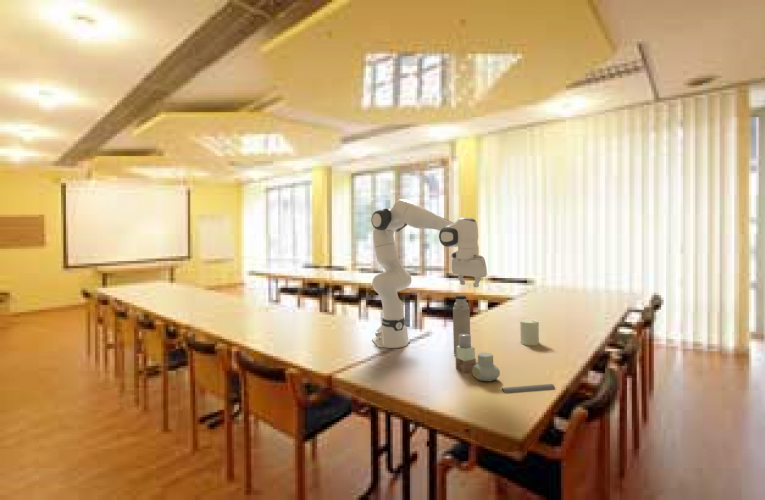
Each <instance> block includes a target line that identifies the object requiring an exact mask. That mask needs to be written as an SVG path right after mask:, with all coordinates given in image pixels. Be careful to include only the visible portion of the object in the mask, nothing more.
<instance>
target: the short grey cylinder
mask: <svg viewBox="0 0 765 500" xmlns="http://www.w3.org/2000/svg"><path fill="white" fill-rule="evenodd" d="M471 346H472V335H471V333H470V334H459V347H460V348H471Z"/></svg>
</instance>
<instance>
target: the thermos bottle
mask: <svg viewBox="0 0 765 500" xmlns="http://www.w3.org/2000/svg"><path fill="white" fill-rule="evenodd" d="M470 314H471V311H470V307H469V303H468V302H467V296H466V295H457V296H455V302H454V304H453V307H452V324H453V325H452V329H453V333H452V334H453V336H452V337H453V354H454V355H455V356H457V353H456V346H459V334H470V335H471V315H470Z"/></svg>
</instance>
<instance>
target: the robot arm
mask: <svg viewBox="0 0 765 500" xmlns="http://www.w3.org/2000/svg"><path fill="white" fill-rule="evenodd" d="M371 224H372V226H373V228H374V229H373V233H372V235H373V236H372V237H373V239H372V240H373V245H374V250H375V256H376V261H377V263H378V264H379V265H381V267H383V269H384V270H385V272H381V273H378V274H377V275H375V276H374V277H373V278H372V283H371V284H372V289H373V290H374V291H375V293H377V294H378V296H379V298H380V301H381V304H382V306H381V307H382V317H381V325H380V326H379V327H378V328H377V329H376V332H375V337H372V342H373V343H374V344H375V345H376V346H377V347H378V348H388V349H391V348H392V349H397V348H403V347H406V346H408V345H409V343H411V339H409V333H408V328H407V326H406V325H405V324H406V318H405V310H404V309H405V304H404V302H403V301H402V300H401V299H400V297H399V294H398V292H400V291H403V290H405V289H407V288H409V287H410V286H411V284H412V276H411V274H410V272H409V271H407V270H406V269H405V268H404V266H403V265H402V262H401V260H400V258H399V255H398V251H397V247H396V243H395V238H394V234H395V232H397V233H399V232H400V231H401V230H403V229H404V228H406V227H407V226H409V227H412V228H414V229H423V230H424V229H425V230H426V229H428V230H431V229H432V230H437V231H439V233H438V240H439V243H440V244H441V245H442V246H443V247H445V248H446V247H447V248H453V247H454V248H457V251H454V252H452V253H451V256H450V257H451V272H452V274H453V275H457V277H458V281H459V285H460V286H464V285H466V280H464V276H465V277H472V278H473V277H474V282H473V285H472V286H473V287H474V288H479V286H480V284H479V283H480V281H481V278H486V277H487V275H488V270H487V264H486V259H485V257H483V255H480V254H479V253H480V250H479V244H478V242H479V241H478V239H479V227H478V222H477V220H476V219H475V218H471V217H459V218H458V220H456V221H455V222H452V221H450V220H448V219H446V218H444V217H442V216H440V215H437V214H436V213H434V212H432V211H430V210H428V209H426V208H425V207H423V206H421V205H420V204H418V203H416V202H413V201H412V200H408V199H405V198H404V199H403V198H402V199H401V198H400V199H398V200H396V201H395V202H394V204H393V206H392V208H387V207H386V208H381V209H378V210H376V211H374V212H373V213H372V214H371Z"/></svg>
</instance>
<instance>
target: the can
mask: <svg viewBox="0 0 765 500" xmlns="http://www.w3.org/2000/svg"><path fill="white" fill-rule="evenodd" d="M519 324H520V327H519V329H520V340H519V342H520V344H522V345H525V346H537V345H538V346H539V345H540V338H539V337H540V336H539V334H540V332H539V331H540V329H539V325H540V322H539V320H537V319H535V318H534V319H533V318H532V319H531V318H522V319H520V320H519Z"/></svg>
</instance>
